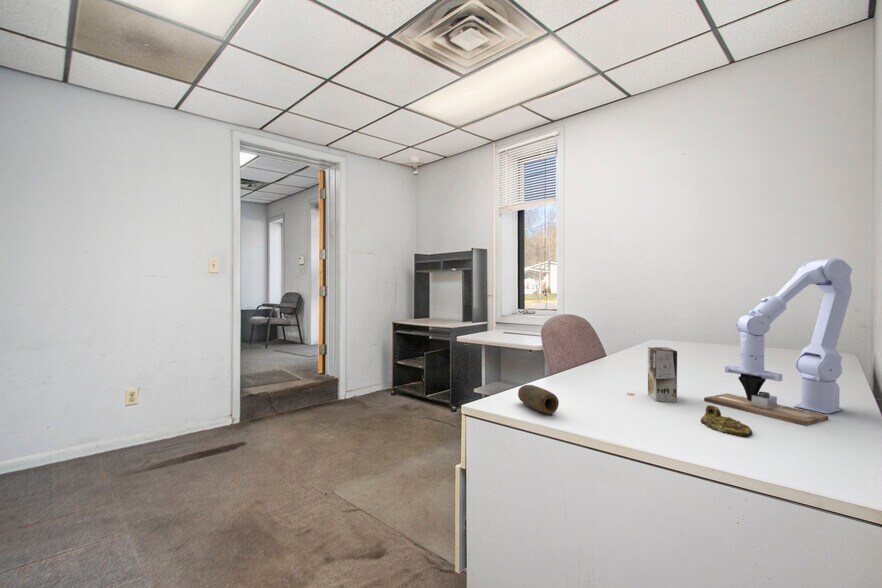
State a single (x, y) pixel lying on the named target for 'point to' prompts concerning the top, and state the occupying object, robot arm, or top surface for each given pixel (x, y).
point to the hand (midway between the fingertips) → (751, 400)
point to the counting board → (776, 412)
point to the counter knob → (764, 400)
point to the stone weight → (538, 399)
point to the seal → (724, 423)
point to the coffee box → (662, 374)
